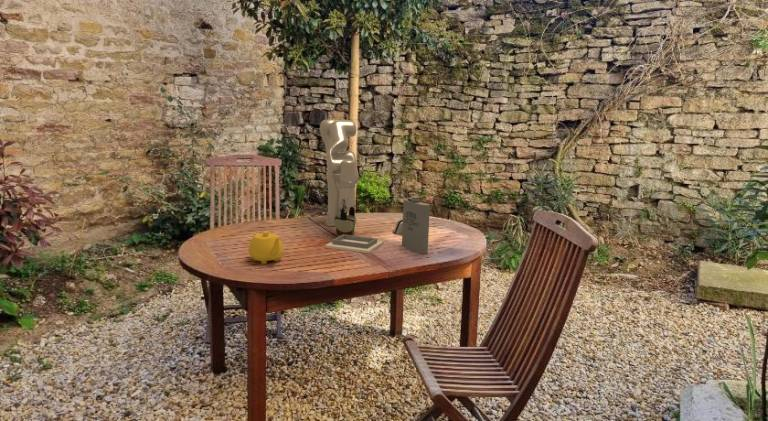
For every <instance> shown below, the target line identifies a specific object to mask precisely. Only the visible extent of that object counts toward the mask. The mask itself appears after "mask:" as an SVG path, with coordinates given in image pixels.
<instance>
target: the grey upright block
mask: <svg viewBox="0 0 768 421" xmlns="http://www.w3.org/2000/svg"><path fill="white" fill-rule="evenodd" d="M402 204H403V206H402V218H403V228H402V234H401V246H402V247H403V248H405V249H407V250H410V251H411V252H414V253H418V254H421V255H427V254H428V253H429V237H430V235H429V233H430V215H431V214H430V212H431V210H430V208H431V204H430V203H425V202H422V201H420V196H414V195H413V196H410V197H407V198H404V199H403V203H402Z"/></svg>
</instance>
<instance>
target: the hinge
mask: <svg viewBox="0 0 768 421" xmlns="http://www.w3.org/2000/svg"><path fill="white" fill-rule="evenodd" d="M402 228H403V217H401V218H400V219H398V220H397V221H396V224H395V227H394V229H393V230H392V234H394V233H395V235H396V234H397V236H398V235H402Z"/></svg>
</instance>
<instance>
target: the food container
mask: <svg viewBox="0 0 768 421" xmlns="http://www.w3.org/2000/svg"><path fill="white" fill-rule="evenodd" d="M334 220H335V226H334V227H335V236H337V237H339V236H341V235H343V234H344V235H352V236H355V227H356V223H357V218H356V215H355V216H351V215H349V214H347V220H346V221H345V220H341V215H337V216H335V217H334Z"/></svg>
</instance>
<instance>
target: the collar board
mask: <svg viewBox="0 0 768 421" xmlns="http://www.w3.org/2000/svg"><path fill="white" fill-rule="evenodd" d="M382 245H384V241H381V240H378V238H376V237H375V238H374V237H367V236H359V235H354V236H352V235H344V234H343V235H341V236H337V237H336V238H333V239H331V241H330V242H329V243H326V244H325V245H324V248H326V249H333V250H339V251H340V250H341V251H348V252H356V253H364V254H370V253H372V252H374V251H376V250H377V249H378V248H380V247H381V246H382Z"/></svg>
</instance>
